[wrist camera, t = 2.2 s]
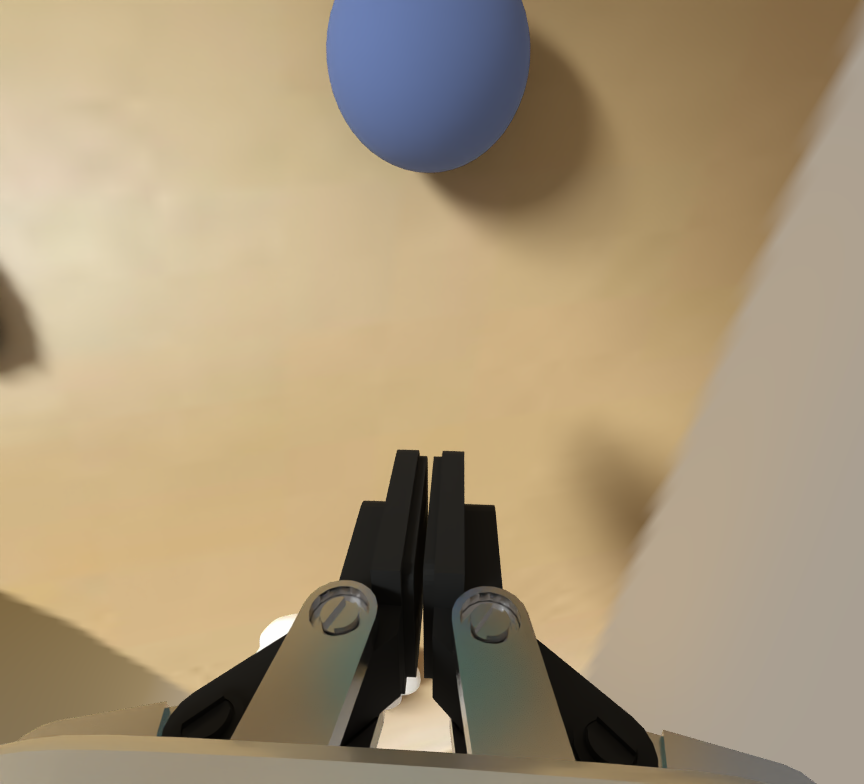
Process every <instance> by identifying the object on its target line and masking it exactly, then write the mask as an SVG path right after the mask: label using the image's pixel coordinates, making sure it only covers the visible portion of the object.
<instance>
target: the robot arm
mask: <svg viewBox="0 0 864 784" xmlns="http://www.w3.org/2000/svg"><path fill="white" fill-rule="evenodd" d="M422 611H423V625H424V678H433V699H434V700H435V701H436V702H437V703H438V704H439V706H440V707H441V708H442V709H443V710H444V711H445V712H446V713H447V714H448V716H449V717H450V735H451V743H452V752H453V753H443V752H427V751H411V750H395V749H378V748H376V747H377V744H378V740H379V737H380V733H381V730H382V726H383V723H384V716H385V709H386V708H387V707H388V706H390V705H391V704H392V703H393V702H394V701H396V700H397V699H398V698H399V697H400V696H401V694H405V691H406V682H407V677H415V678H416V676H417V667H418V656H419V644H420V633H421V622H422ZM0 784H816V783H815V782H813V781H812V780H811V779H809V778H808V777H807V776H805V775H804V774H803V773H802V772H800V771H797V770H795V769H793V768H790V767H788V766H786V765H784V764H781V763H777V762H774V761H770V760H767V759H763V758H760V757H756V756H753V755H749V754H746V753H743V752H739V751H736V750H732V749H729V748H725V747H722V746H718V745H715V744H711V743H708V742H704V741H700V740H697V739H694V738H690V737H687V736H683V735H680V734H676V733H673V732H669V731H666V730H663V732H662V735H661V736H660V735H657V734H653V733H649V732H646V731H645V730H644V728H643V727H642V726H641V725H640V724H639V723H638V722H637V721H636V720H635V719H634V718H633V717H632V716H631V715H629V714H628V713H627V712H625V711H624V710H623V709H622V708H621V707H620V706H618V705H617V704H616V703H614V702H613V701H612V700H611V699H610V698H608V697H607V696H606V695H605V694H604V693H602V692H601V691H600V690H599V689H598V688H596V687H595V686H594V685H593V684H591V683H590V682H589V681H588V680H586V679H585V678H584V677H583V676H582V675H580V674H579V673H578V672H577V671H575V670H574V669H573V668H572V667H571V666H569V665H568V664H567V663H566V662H564V661H563V660H562V659H561V658H559V657H558V656H557V655H556V654H555V653H553V652H552V651H551V650H550V649H548V648H547V647H546V646H545V645H544V644H542V643H541V642H540V641H539V640H537V639H536V636H535V633H534V630H533V627H532V624H531V621H530V618H529V615H528V612H527V610H526V608H525V606H524V604H523V603H522V602H521V601H520V600H519V599H518V598H517V597H516V596H515V595H513V594H511V593H510V592H508V591H506V590H504V589H503V588H502V577H501V566H500V555H499V544H498V534H497V523H496V512H495V506H494V505H474V504H464V452H460V451H443V453H442V457H434V461H433V471H432V482H431V492H430V502H429V513H428V459H427V456H420V453H419V450H397V453H396V457H395V462H394V466H393V471H392V475H391V479H390V484H389V488H388V493H387V497H386V501H363V502H362V505H361V508H360V511H359V515H358V518H357V521H356V525H355V528H354V532H353V535H352V539H351V542H350V545H349V549H348V552H347V556H346V559H345V563H344V566H343V569H342V573H341V576H340V580H339V581H335V582H330V583H328V584H326V585H324V586H321V587H319V588H318V589H317V590H316V591H314V592H313V593H312V594H310V596H309V597H308V598H307V600H306V601H305V602H304V604H303V606H302V608H301V610H300V611H299V613H298V615H297V617H296V619H295V621H294V622H293V624H292V626H291V628H290V630H289V632H288V633H287V634H286V635H284V636H282V637H281V638H279V639H278V640H276V641H274V642H273V643H271V644H270V645H268V646H267V647H265V648H263V649H262V650H260V651H259V652H257V653H255V654H254V655H252V656H251V657H249V658H248V659H246V660H244V661H243V662H241V663H240V664H238V665H236V666H235V667H233V668H232V669H230V670H229V671H227V672H225V673H224V674H222V675H221V676H219V677H218V678H216V679H214V680H213V681H211V682H210V683H208V684H206V685H205V686H203V687H202V688H200V689H199V690H197V691H195V692H194V693H193V694H191V695H190V696H189V697H187V698H186V699H185V700H184V701H182V702H181V703H180V704H179V706H173V707H168V704H167V702H160V703H154V704H148V705H143V706H137V707H131V708H125V709H120V710H114V711H109V712H103V713H97V714H91V715H85V716H80V717H74V718H69V719H62V720H57V721H53V722H50V723H47V724H44V725H42V726H39V727H37V728H36V729H34V730H33V731H31V732H29V733H27V734H26V735H24V736H23V737H21V738H20V739H19V740H18V741H17V742H12V743H7V744H2V745H0Z"/></svg>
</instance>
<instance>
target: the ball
mask: <svg viewBox="0 0 864 784" xmlns="http://www.w3.org/2000/svg"><path fill="white" fill-rule="evenodd" d="M326 49H327V65H328V73H329V78H330V82H331V86H332V90H333V94H334V97H335V99H336V102H337V105H338V107H339V109H340V111H341V113H342V115H343V117H344V119H345V121H346V122H347V124H348V126H349V127H350V129H351V130H352V132H353V133H354V134H355V135H356V136H357V138H358V139H359V140H360V141H361V142H362V143H363V144H364V145H365V146H366V147H367V148H368V149H369V150H370V151H371V152H373V153H374V154H376V155H377V156H378V157H380V158H381V159H383V160H385V161H387V162H388V163H390V164H392V165H395V166H397V167H400V168H403V169H406V170H410V171H415V172H424V173H433V172H443V171H448V170H452V169H455V168H458V167H461V166H463V165H465V164H467V163H469V162H471V161H473V160H475V159H476V158H478V157H479V156H480V155H482V154H483V153H485V152H486V151H487V150H488V149H489V148H490V147H491V146H492V145H493V144H494V143H496V141H497V140H498V139H499V138H500V137H501V135H502V134H503V133H504V132H505V130H506V129H507V127H508V126H509V124H510V122H511V121H512V119H513V117H514V115H515V113H516V111H517V109H518V107H519V105H520V102H521V99H522V97H523V94H524V91H525V87H526V82H527V78H528V72H529V64H530V36H529V27H528V22H527V17H526V12H525V9H524V6H523V3H522V0H335V1H334V4H333V7H332V10H331V14H330V19H329V24H328V31H327V43H326Z"/></svg>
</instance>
